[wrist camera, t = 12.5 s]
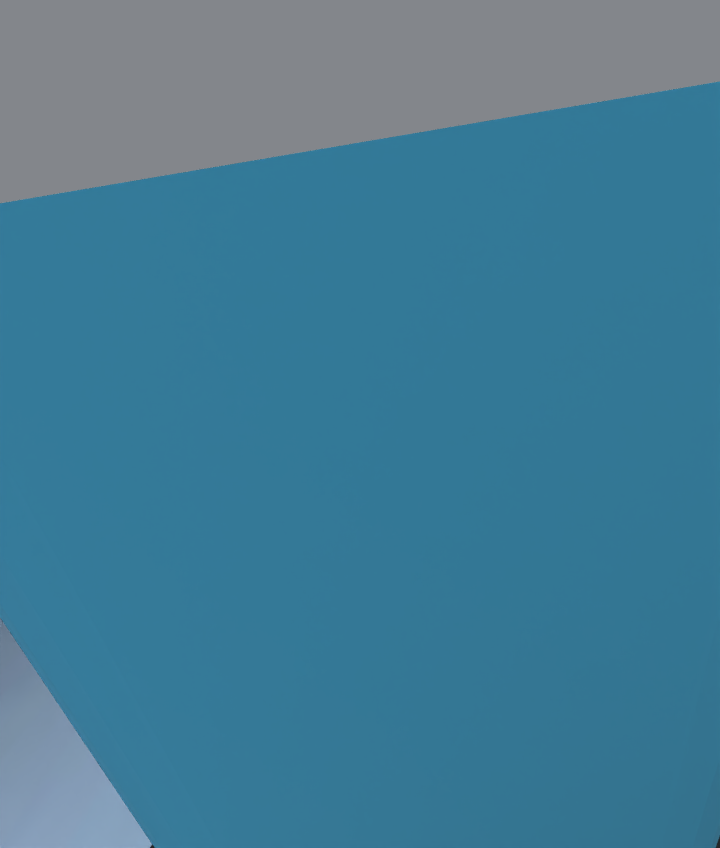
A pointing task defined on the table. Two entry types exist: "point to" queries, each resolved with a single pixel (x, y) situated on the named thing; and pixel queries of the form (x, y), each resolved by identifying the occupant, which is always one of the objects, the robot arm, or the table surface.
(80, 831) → the table surface
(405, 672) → the block
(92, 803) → the table surface
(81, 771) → the table surface
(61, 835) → the table surface
